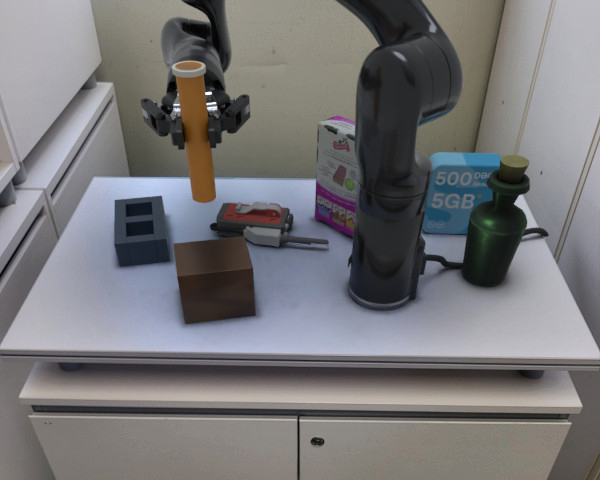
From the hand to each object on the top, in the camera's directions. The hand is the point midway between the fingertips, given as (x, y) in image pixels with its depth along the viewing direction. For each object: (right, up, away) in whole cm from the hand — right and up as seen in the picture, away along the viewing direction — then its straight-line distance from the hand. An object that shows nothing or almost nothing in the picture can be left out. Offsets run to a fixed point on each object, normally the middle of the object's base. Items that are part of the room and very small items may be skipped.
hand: (196, 140), depth 66 cm
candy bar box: (+20, +1, +35) cm, 40 cm away
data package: (+38, 0, +35) cm, 51 cm away
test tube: (0, -4, +8) cm, 9 cm away
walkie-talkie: (+7, -1, +33) cm, 34 cm away
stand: (0, -15, +20) cm, 25 cm away
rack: (-14, -3, +31) cm, 34 cm away
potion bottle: (+40, -10, +25) cm, 48 cm away
